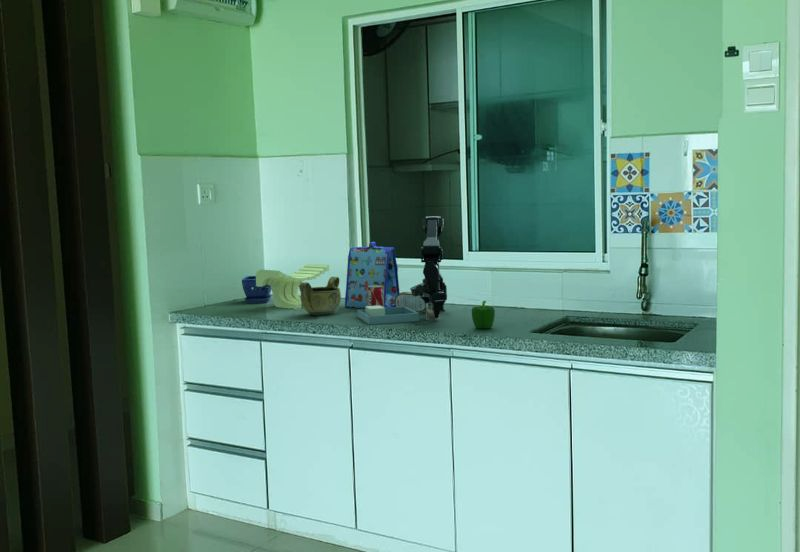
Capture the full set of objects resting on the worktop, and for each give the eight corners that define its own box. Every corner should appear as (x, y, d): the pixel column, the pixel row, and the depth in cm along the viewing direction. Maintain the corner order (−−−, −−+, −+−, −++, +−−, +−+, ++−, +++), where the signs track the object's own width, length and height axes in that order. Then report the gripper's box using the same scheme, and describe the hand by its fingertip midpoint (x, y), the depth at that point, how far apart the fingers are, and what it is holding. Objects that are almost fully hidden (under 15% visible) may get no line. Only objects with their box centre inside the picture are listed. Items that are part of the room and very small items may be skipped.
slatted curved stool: (306, 300, 392) (305, 263, 390) (330, 303, 382) (328, 264, 380) (257, 308, 370) (255, 269, 368) (280, 311, 359) (278, 270, 357)
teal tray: (405, 314, 340) (404, 306, 339) (418, 322, 320) (418, 313, 320) (357, 318, 334) (357, 309, 334) (368, 325, 315) (368, 316, 315)
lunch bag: (401, 306, 366) (399, 241, 362) (384, 310, 354) (382, 243, 351) (361, 303, 377) (359, 240, 374) (343, 307, 366) (341, 242, 363)
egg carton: (380, 317, 331) (379, 305, 330) (385, 320, 323) (384, 308, 322) (365, 318, 329) (365, 306, 329) (370, 321, 321) (369, 309, 321)
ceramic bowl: (323, 309, 361) (322, 275, 359) (353, 312, 351) (352, 277, 349) (288, 317, 343) (286, 281, 341) (319, 319, 333) (318, 282, 331)
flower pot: (270, 303, 387) (269, 278, 385) (242, 304, 387) (241, 278, 385) (274, 299, 400) (273, 275, 399) (246, 300, 400) (245, 275, 398)
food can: (437, 319, 326) (437, 301, 325) (441, 321, 321) (441, 303, 320) (424, 320, 325) (424, 302, 324) (428, 322, 320) (428, 304, 319)
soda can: (382, 316, 338) (381, 287, 337) (365, 316, 340) (364, 287, 339) (385, 313, 345) (385, 284, 344) (369, 313, 347) (368, 285, 345)
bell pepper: (486, 330, 297) (486, 303, 296) (468, 328, 302) (467, 301, 301) (499, 327, 303) (499, 300, 302) (481, 325, 309) (480, 299, 308)
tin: (430, 312, 346) (429, 292, 345) (427, 313, 343) (427, 293, 342) (396, 311, 352) (396, 291, 351) (393, 312, 349) (393, 292, 348)
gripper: (405, 275, 328) (406, 314, 330) (418, 279, 310) (419, 321, 312) (432, 273, 331) (433, 312, 332) (447, 278, 313) (447, 319, 315)
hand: (432, 316), depth 323 cm, fingers open, 9 cm apart
